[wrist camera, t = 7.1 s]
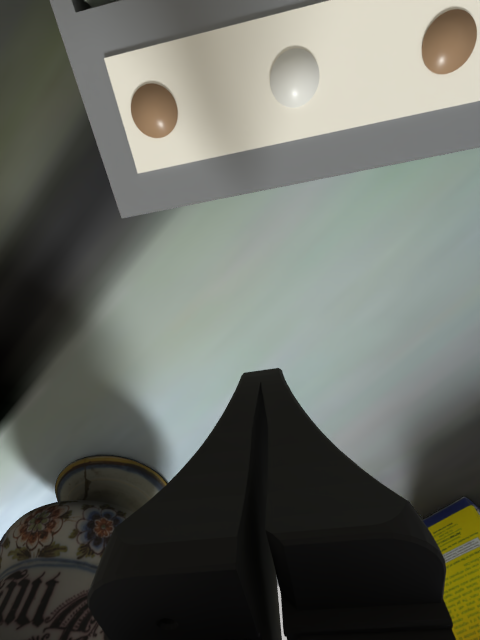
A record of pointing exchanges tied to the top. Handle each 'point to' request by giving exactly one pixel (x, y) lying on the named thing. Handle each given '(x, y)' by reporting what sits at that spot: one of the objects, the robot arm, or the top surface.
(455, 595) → the supplement box
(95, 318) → the top surface
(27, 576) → the apothecary jar
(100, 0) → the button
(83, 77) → the button board
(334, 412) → the top surface
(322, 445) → the robot arm
